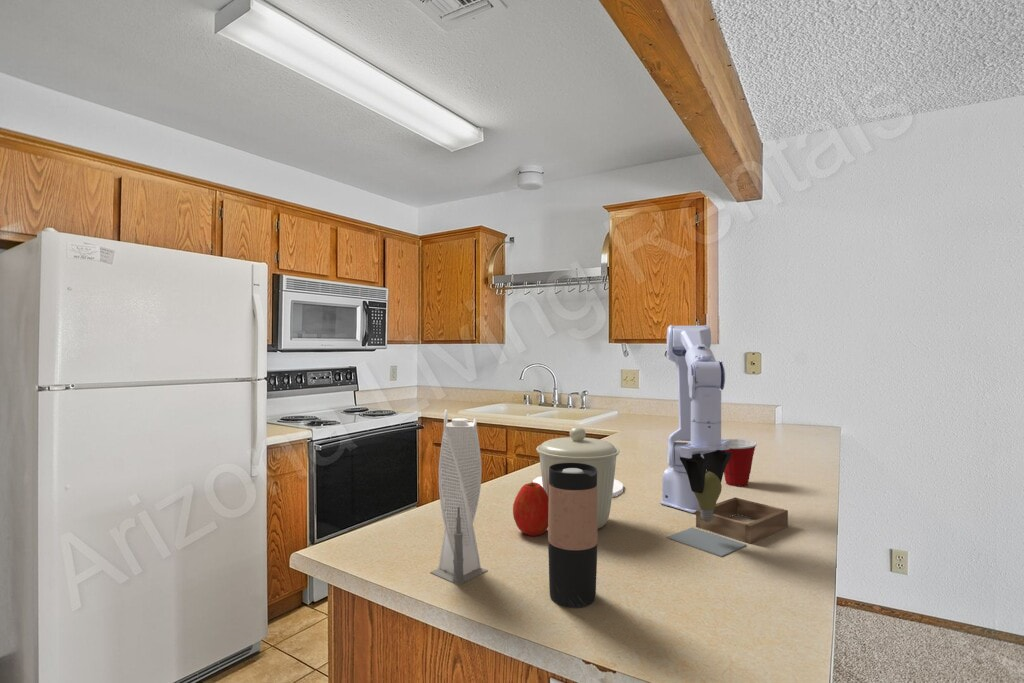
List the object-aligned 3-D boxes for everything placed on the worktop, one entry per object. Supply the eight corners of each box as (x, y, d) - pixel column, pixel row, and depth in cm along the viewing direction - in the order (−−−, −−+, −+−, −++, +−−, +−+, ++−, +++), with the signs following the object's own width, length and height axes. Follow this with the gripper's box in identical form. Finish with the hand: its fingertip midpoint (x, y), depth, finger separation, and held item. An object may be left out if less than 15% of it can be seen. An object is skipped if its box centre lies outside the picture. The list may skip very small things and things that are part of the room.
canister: (624, 515, 119) (624, 423, 119) (613, 543, 102) (613, 436, 102) (548, 507, 125) (548, 419, 125) (525, 532, 108) (525, 431, 108)
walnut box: (696, 526, 112) (696, 510, 112) (735, 512, 122) (735, 497, 122) (750, 543, 102) (750, 526, 102) (787, 526, 112) (787, 510, 112)
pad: (666, 537, 106) (666, 536, 106) (692, 528, 111) (692, 527, 111) (721, 557, 96) (721, 555, 96) (746, 545, 102) (746, 544, 102)
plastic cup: (707, 480, 151) (707, 438, 151) (739, 477, 153) (739, 437, 153) (731, 490, 140) (731, 446, 140) (765, 487, 143) (765, 444, 143)
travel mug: (544, 585, 84) (544, 462, 84) (590, 584, 85) (591, 461, 85) (552, 609, 77) (552, 474, 77) (603, 607, 77) (603, 473, 77)
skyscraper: (424, 572, 90) (425, 410, 90) (458, 557, 96) (458, 406, 96) (458, 587, 85) (459, 415, 85) (492, 570, 91) (492, 410, 91)
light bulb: (724, 527, 100) (723, 475, 100) (694, 525, 101) (692, 474, 101) (720, 517, 105) (719, 468, 106) (691, 516, 107) (690, 467, 107)
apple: (520, 523, 114) (520, 474, 114) (556, 527, 111) (556, 477, 111) (507, 536, 106) (507, 484, 106) (546, 541, 103) (546, 487, 103)
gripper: (703, 427, 96) (703, 500, 96) (743, 420, 105) (743, 487, 105) (670, 422, 102) (670, 492, 102) (711, 416, 111) (711, 480, 110)
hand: (705, 489), depth 104 cm, fingers closed on light bulb, 5 cm apart
